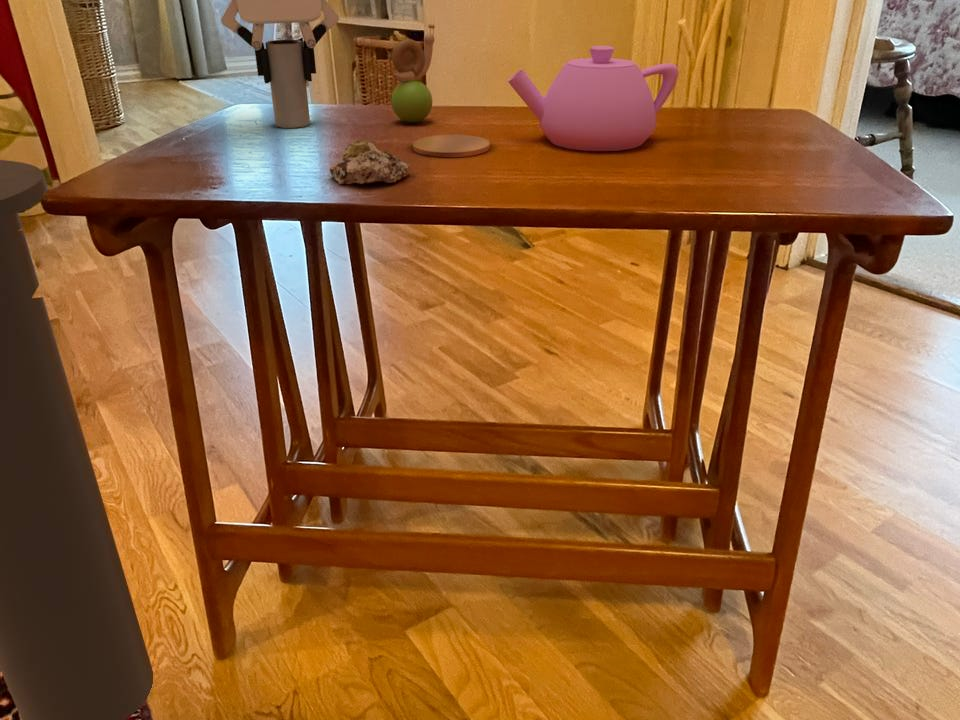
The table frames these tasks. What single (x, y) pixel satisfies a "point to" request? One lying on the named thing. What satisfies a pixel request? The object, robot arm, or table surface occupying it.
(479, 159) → the table surface
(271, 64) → the grey cylinder
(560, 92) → the teapot
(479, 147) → the cork coaster
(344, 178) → the mineral rock
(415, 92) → the snail figurine
